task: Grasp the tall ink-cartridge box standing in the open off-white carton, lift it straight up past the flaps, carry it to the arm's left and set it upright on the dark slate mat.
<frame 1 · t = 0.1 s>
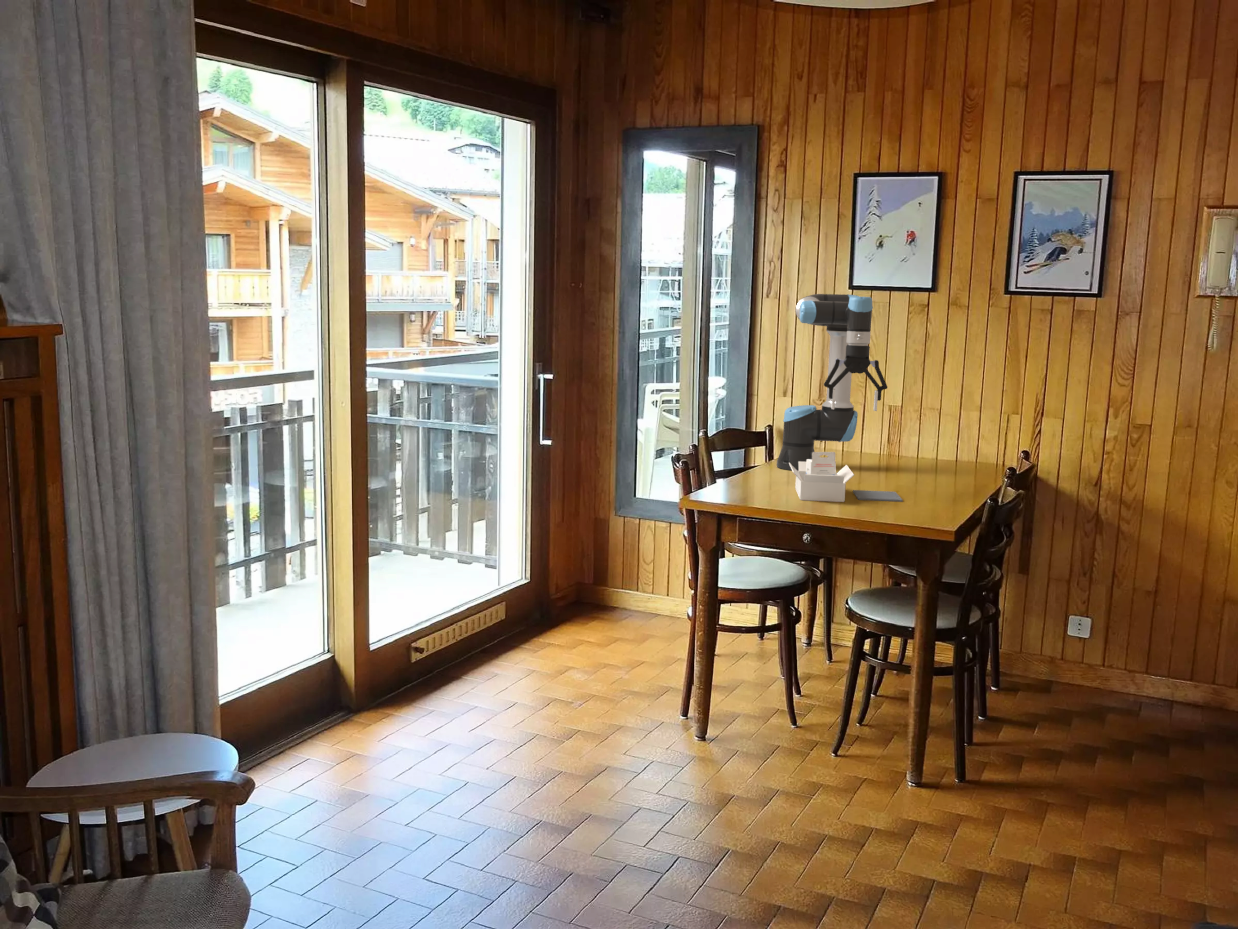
hand: (853, 409, 366), 28 cm above the table, fingers open, 13 cm apart
mat: (877, 496, 367), on the table
ink cartridge box: (819, 495, 367), resting in carton
carton: (819, 495, 367), on the table
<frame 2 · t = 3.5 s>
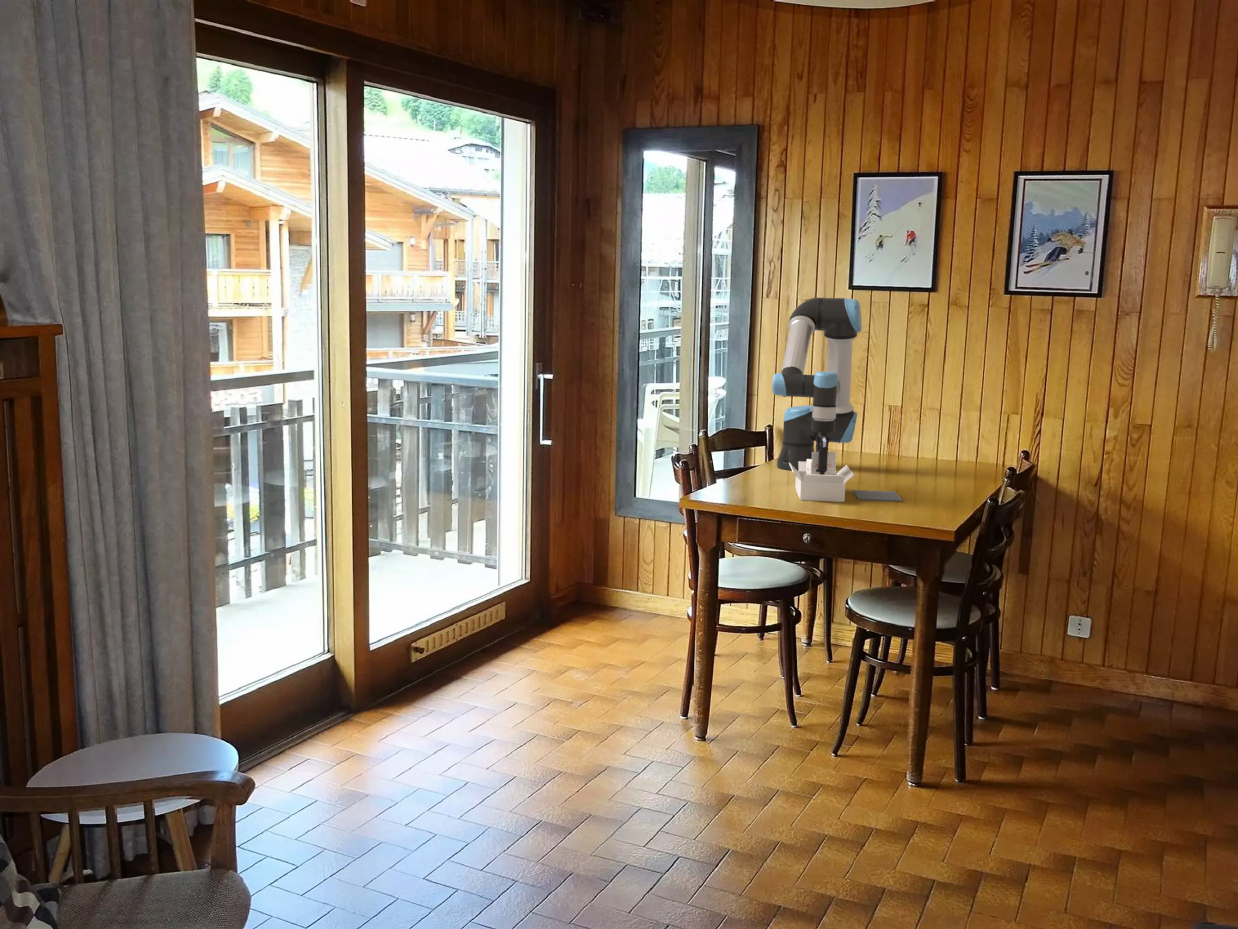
hand: (819, 489, 367), 2 cm above the table, fingers closed on ink cartridge box, 6 cm apart
ink cartridge box: (819, 495, 367), resting in carton, touching gripper
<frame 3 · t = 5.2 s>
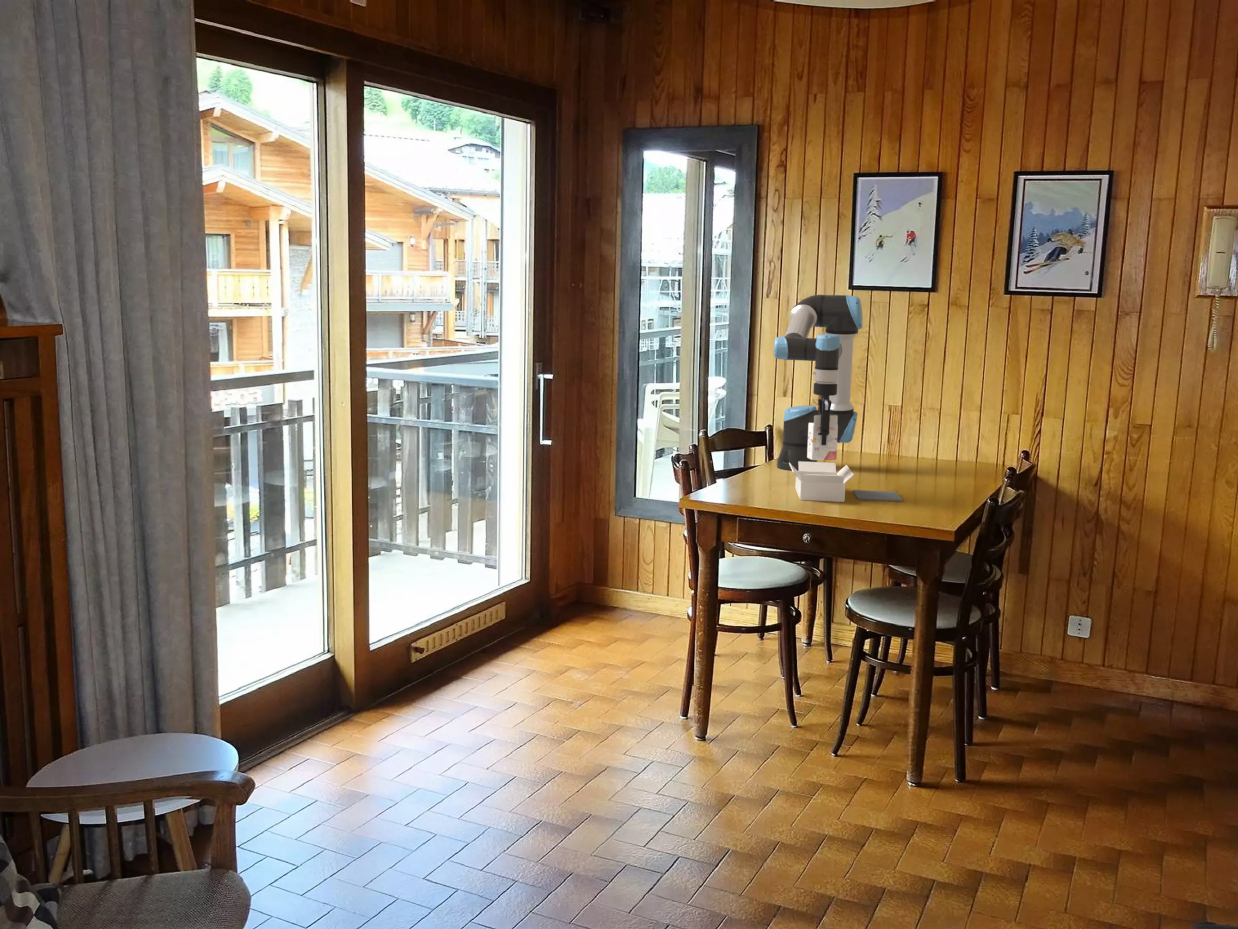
hand: (821, 453, 365), 14 cm above the table, fingers closed on ink cartridge box, 6 cm apart
ink cartridge box: (821, 459, 365), point 12 cm above the table, touching gripper
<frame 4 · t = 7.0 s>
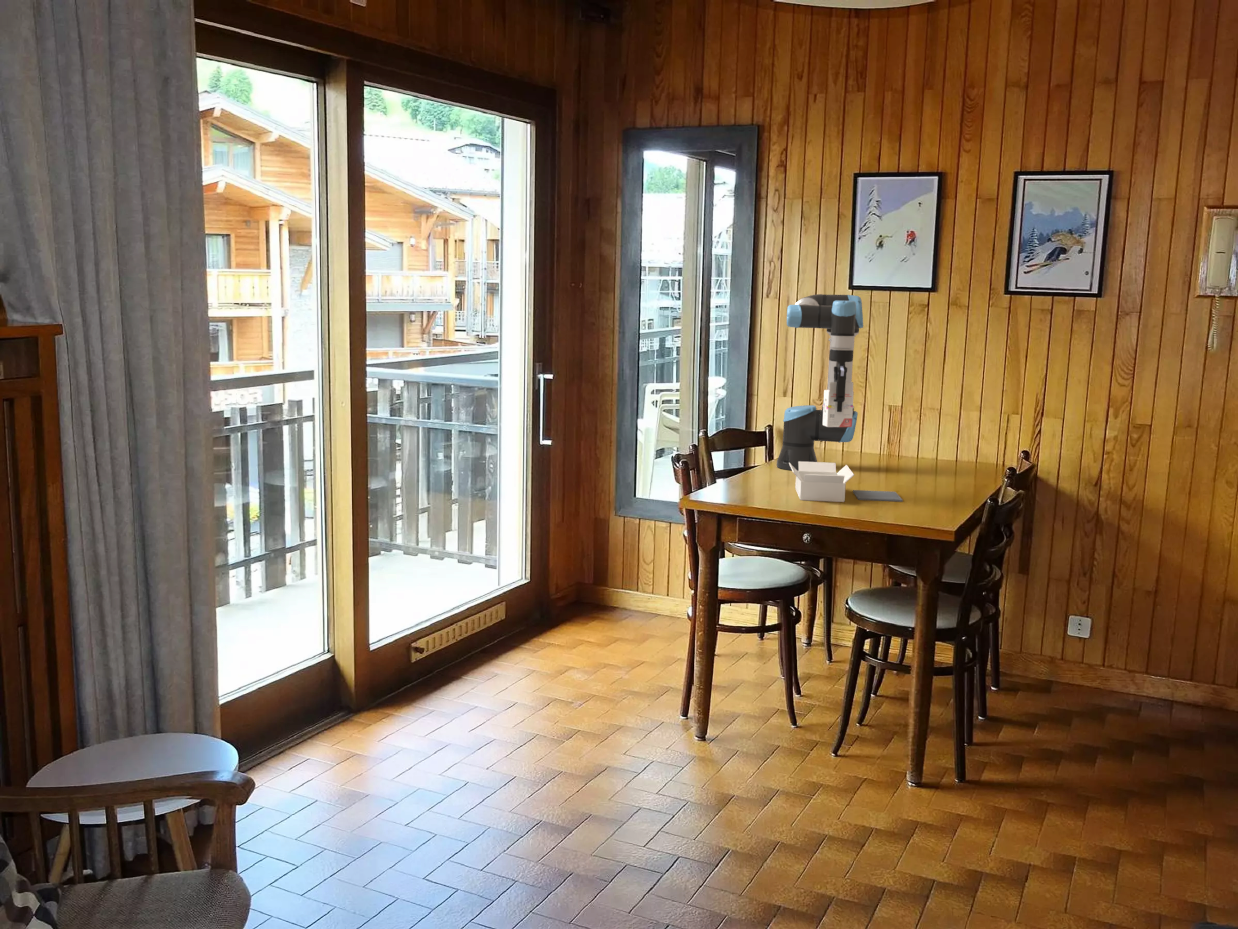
hand: (837, 420, 363), 25 cm above the table, fingers closed on ink cartridge box, 6 cm apart
ink cartridge box: (836, 426, 363), point 23 cm above the table, touching gripper
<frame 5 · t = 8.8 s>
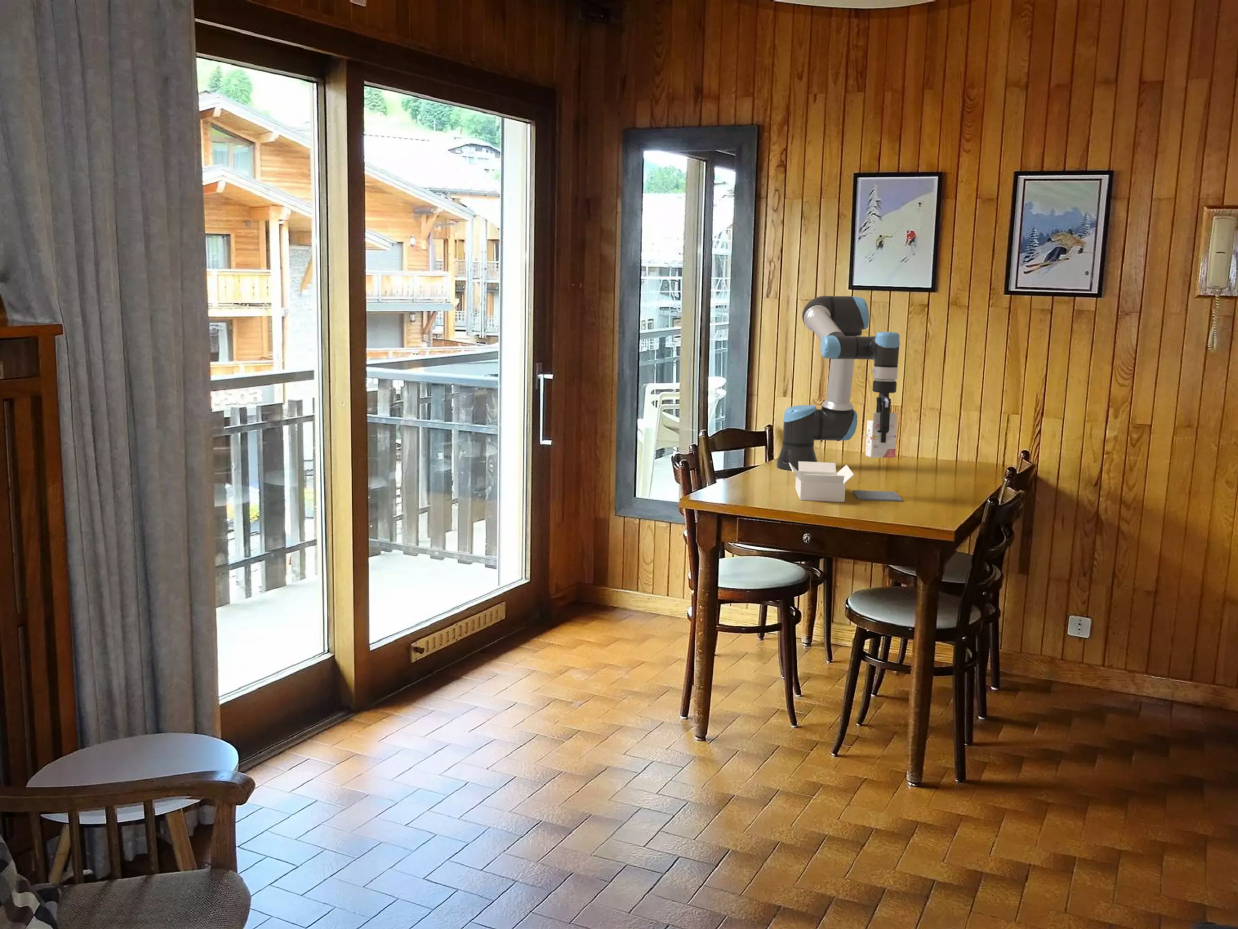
hand: (880, 450, 364), 15 cm above the table, fingers closed on ink cartridge box, 6 cm apart
ink cartridge box: (879, 457, 365), point 13 cm above the table, touching gripper
when the fingers open (3 cm above the table, at t = 10.6 s): ink cartridge box stays where it is, resting on mat.
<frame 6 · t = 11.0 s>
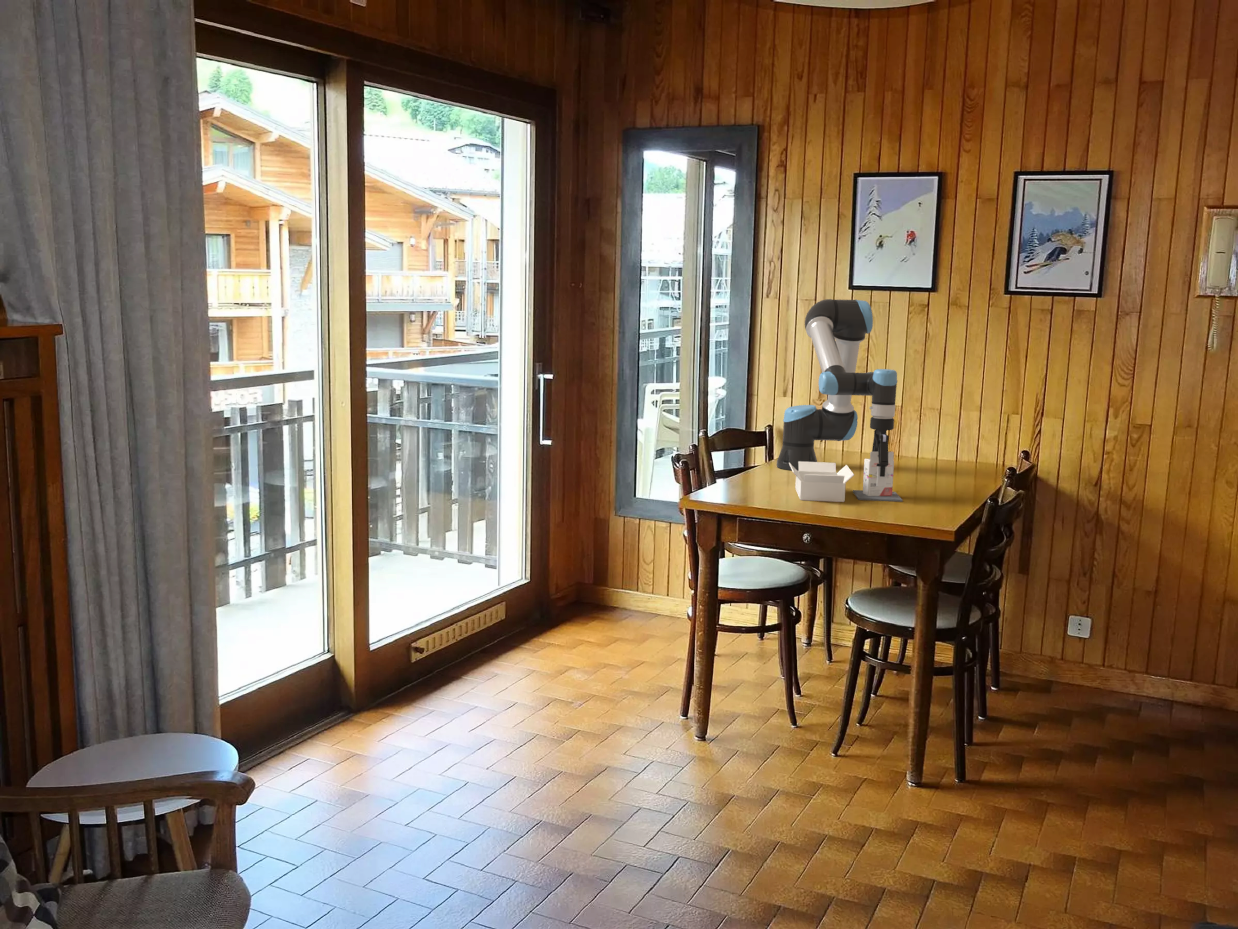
hand: (878, 482, 366), 5 cm above the table, fingers open, 12 cm apart
ink cartridge box: (877, 495, 367), resting on mat
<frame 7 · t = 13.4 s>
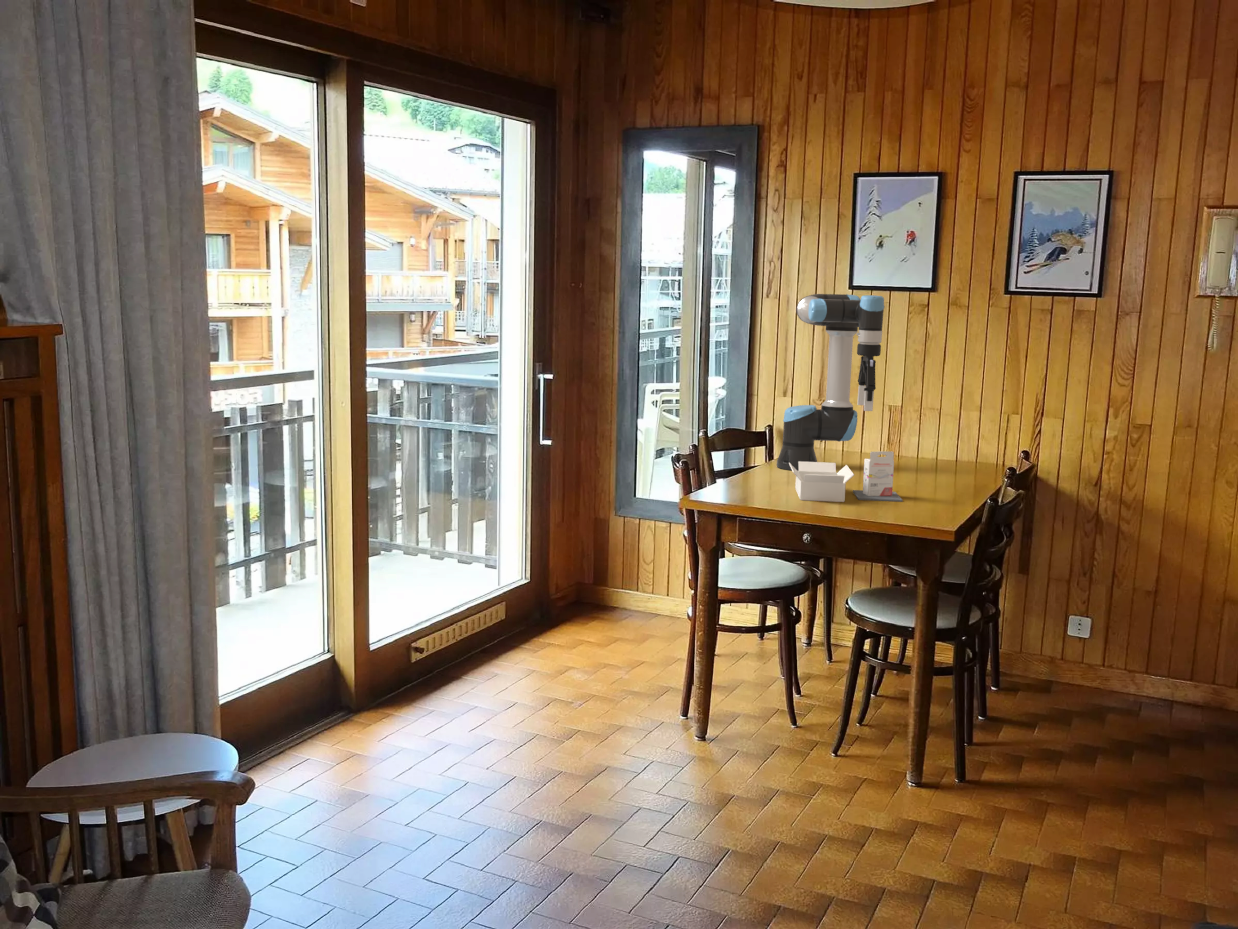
hand: (864, 408, 368), 28 cm above the table, fingers open, 13 cm apart
nothing on the table moved.
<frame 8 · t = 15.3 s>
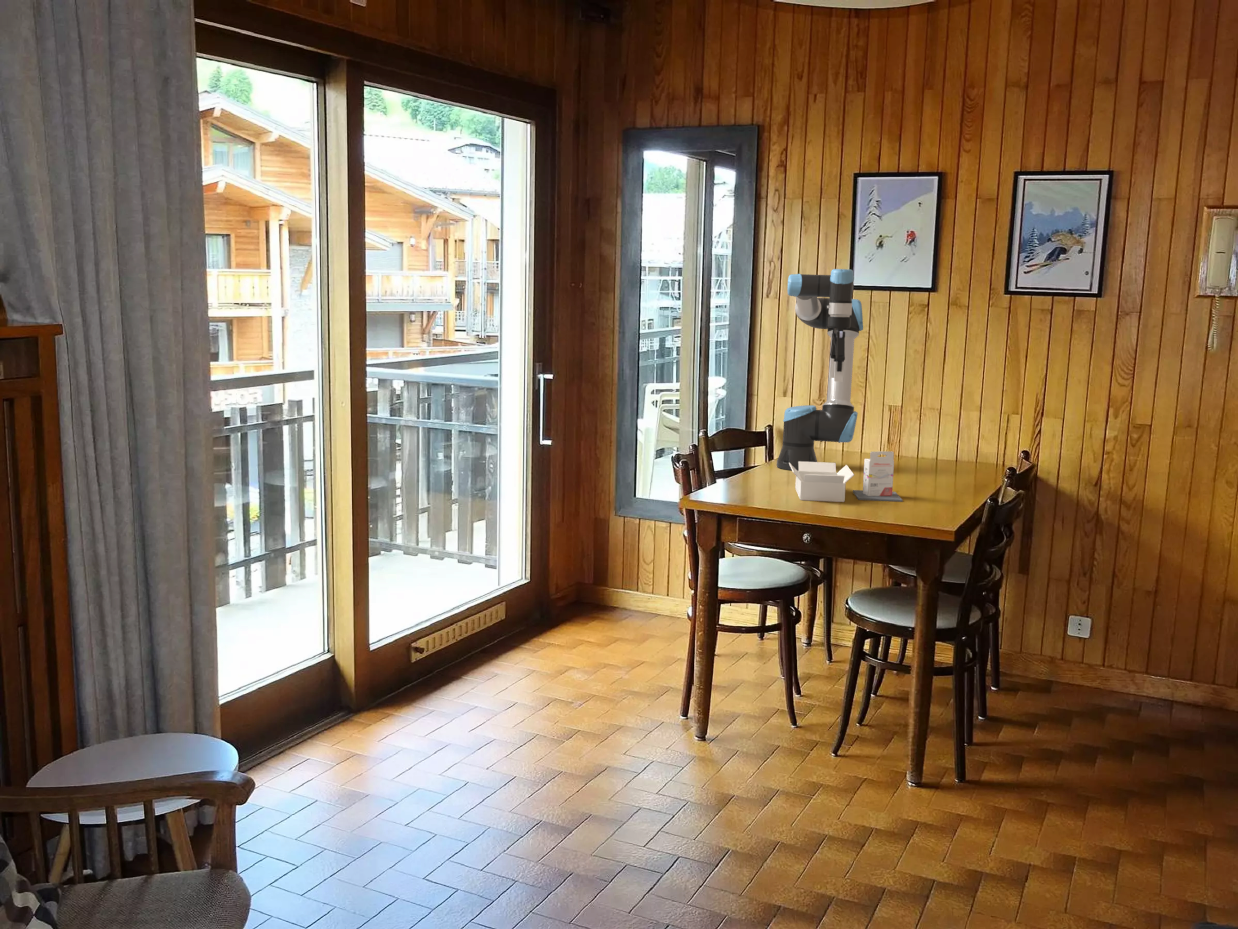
hand: (835, 379, 376), 37 cm above the table, fingers open, 13 cm apart
nothing on the table moved.
at the end: ink cartridge box inside the target area on the mat (0.2 cm from its centre), point 0.4 cm above the mat's base; ink cartridge box tilted 0°; the gripper is holding nothing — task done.
